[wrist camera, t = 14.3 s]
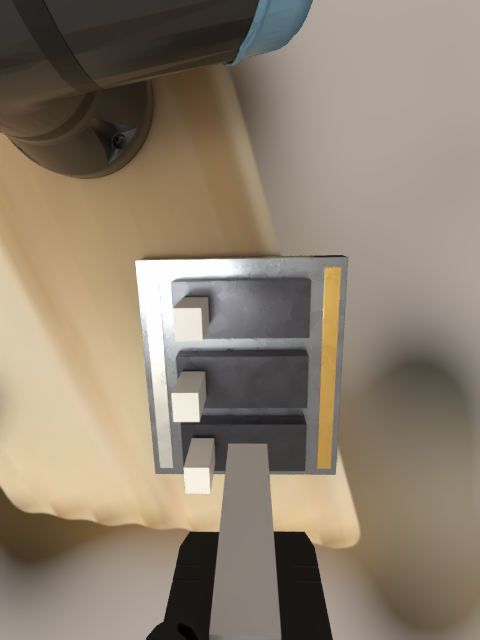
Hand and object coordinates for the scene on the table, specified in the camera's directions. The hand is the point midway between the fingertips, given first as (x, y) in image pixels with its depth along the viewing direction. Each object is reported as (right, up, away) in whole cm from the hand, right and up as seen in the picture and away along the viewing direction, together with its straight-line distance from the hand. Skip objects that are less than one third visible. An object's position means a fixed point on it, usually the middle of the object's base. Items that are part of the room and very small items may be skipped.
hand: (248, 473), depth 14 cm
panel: (0, 0, +28) cm, 28 cm away
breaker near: (-5, +7, +22) cm, 23 cm away
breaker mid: (-5, -1, +24) cm, 24 cm away
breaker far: (-4, -9, +26) cm, 27 cm away
